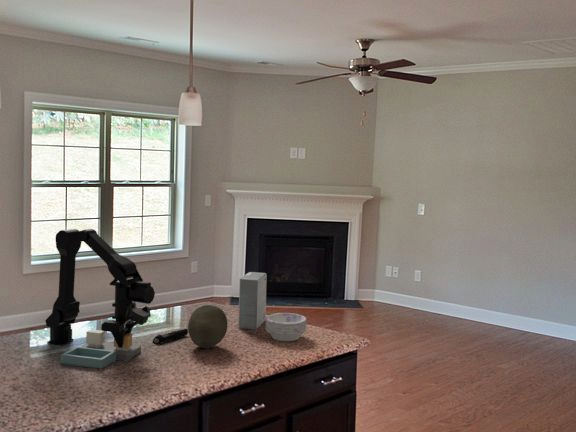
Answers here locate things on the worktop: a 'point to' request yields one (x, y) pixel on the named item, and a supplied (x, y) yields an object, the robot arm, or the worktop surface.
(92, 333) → the block
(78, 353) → the parts tray
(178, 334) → the electric trimmer
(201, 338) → the cantaloupe
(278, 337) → the paper bowls
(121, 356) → the block
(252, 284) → the hard drive box
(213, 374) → the worktop surface
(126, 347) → the block
